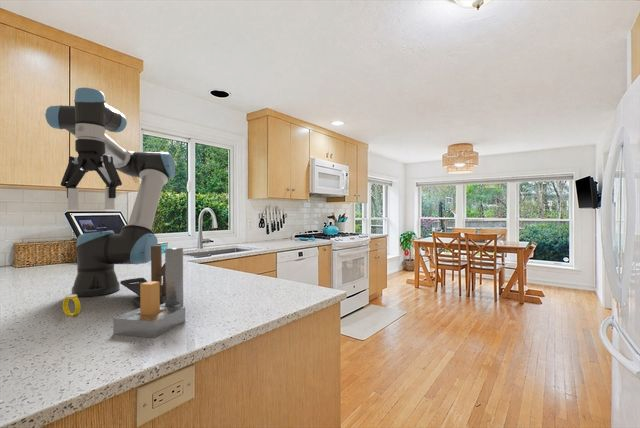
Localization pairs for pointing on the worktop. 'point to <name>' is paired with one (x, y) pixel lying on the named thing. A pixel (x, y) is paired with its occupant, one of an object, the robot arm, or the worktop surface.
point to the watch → (76, 302)
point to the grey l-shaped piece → (169, 311)
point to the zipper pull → (138, 290)
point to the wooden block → (157, 267)
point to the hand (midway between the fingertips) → (91, 209)
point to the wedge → (150, 298)
